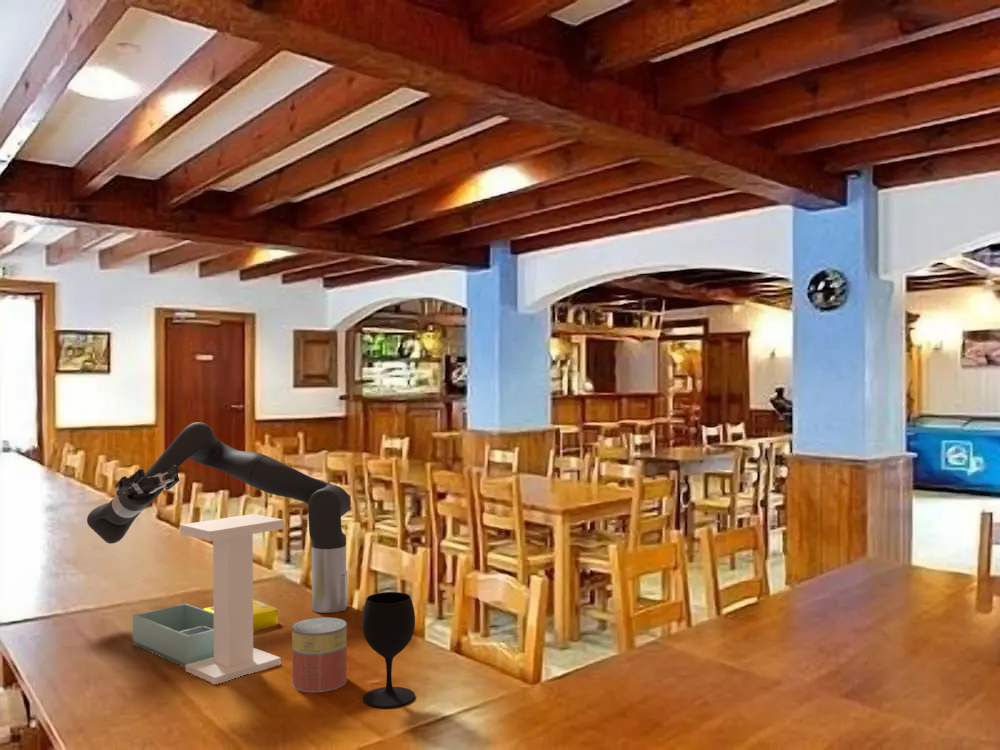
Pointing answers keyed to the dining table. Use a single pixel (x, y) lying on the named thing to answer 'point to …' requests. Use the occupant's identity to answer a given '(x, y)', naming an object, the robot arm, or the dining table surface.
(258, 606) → the element tile
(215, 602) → the white i-beam pedestal
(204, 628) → the brushed metal dustpan
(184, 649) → the bin
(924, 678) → the dining table surface
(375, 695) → the wine glass
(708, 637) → the dining table surface
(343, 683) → the canned food
